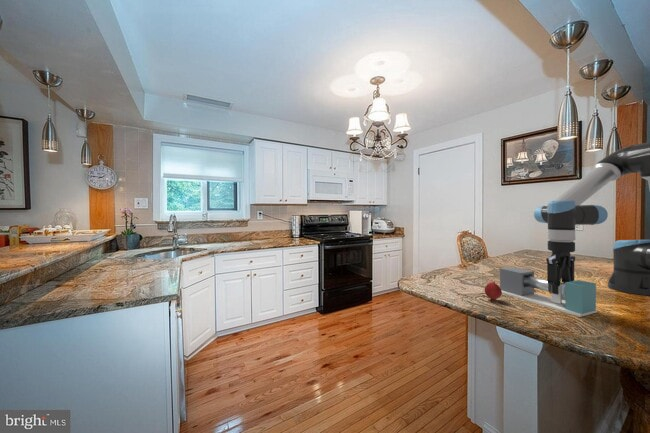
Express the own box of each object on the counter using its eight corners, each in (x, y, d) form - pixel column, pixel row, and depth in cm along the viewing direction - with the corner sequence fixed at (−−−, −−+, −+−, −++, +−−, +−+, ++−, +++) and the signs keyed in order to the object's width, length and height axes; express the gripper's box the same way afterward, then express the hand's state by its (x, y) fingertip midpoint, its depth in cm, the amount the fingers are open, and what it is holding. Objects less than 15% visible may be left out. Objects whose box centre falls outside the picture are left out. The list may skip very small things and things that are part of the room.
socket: (579, 305, 90) (579, 279, 90) (595, 310, 86) (595, 283, 86) (565, 309, 88) (565, 282, 87) (581, 314, 83) (581, 286, 83)
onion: (485, 301, 99) (485, 281, 98) (483, 296, 104) (483, 278, 104) (502, 303, 96) (502, 283, 96) (500, 298, 101) (500, 279, 101)
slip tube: (518, 287, 103) (518, 274, 103) (527, 285, 105) (527, 272, 105) (577, 302, 86) (577, 286, 85) (586, 300, 87) (586, 285, 87)
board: (514, 289, 113) (514, 287, 113) (597, 312, 87) (597, 309, 87) (497, 292, 109) (497, 290, 109) (579, 316, 83) (579, 314, 83)
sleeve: (511, 287, 112) (511, 267, 112) (534, 293, 104) (534, 271, 104) (500, 289, 110) (499, 268, 110) (521, 296, 101) (521, 273, 101)
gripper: (562, 238, 98) (562, 295, 99) (534, 240, 92) (534, 301, 93) (587, 240, 91) (587, 301, 92) (558, 243, 85) (558, 308, 86)
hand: (560, 301), depth 92 cm, fingers closed on slip tube, 5 cm apart
